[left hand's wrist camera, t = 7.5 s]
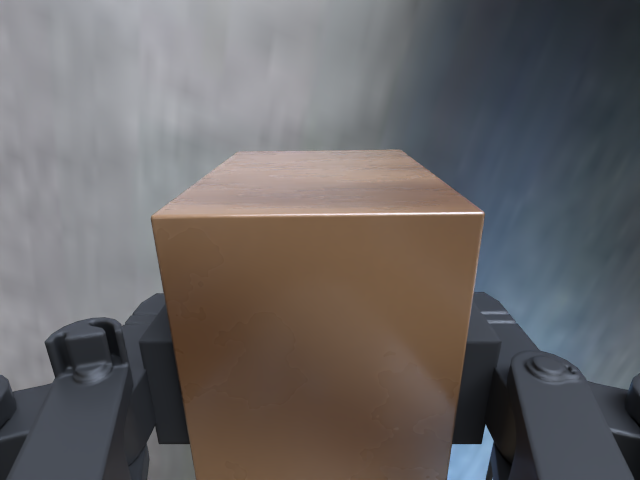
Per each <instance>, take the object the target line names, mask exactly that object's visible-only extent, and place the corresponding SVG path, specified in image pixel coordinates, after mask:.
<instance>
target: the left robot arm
mask: <svg viewBox="0 0 640 480" xmlns="http://www.w3.org/2000/svg"><path fill="white" fill-rule="evenodd" d="M45 345H46V349H47V352H48V355H49V359H50V362H51V365H52V368H53V372H54V375H55V379H54V381H53V383H51V384H47V385H43V386H38V387H33V388H29V389H24V390H19V391H14V392H12V389H11V386H10V384H9V381H8V379H7V378H5V377H4V376H3V375H0V480H147V475H148V467H149V453H148V447H147V441H148V439H149V437H150V435H151V433H152V431H153V428H154V426H155V427H156V432H157V437H158V442H159V444H190V441H189V435H188V429H187V424H186V418H185V412H184V406H183V401H182V395H181V389H180V383H179V378H178V372H177V366H176V360H175V355H174V349H173V343H172V337H171V332H170V326H169V320H168V315H167V309H166V303H165V297H164V293H156V294H155V295H153V296H152V297H150V298H148V299H147V300H145V301H144V302H142V303H141V304H140V305H139V307H138V308H137V309H136V310H135V311H134V313H133V316H130V317H129V319H128V320H127V321H126V322H125V325H123V326H121V324H120V323H119V322H118V321H117V320H115V319H110V318H106V317H103V318H90V319H85V320H81V321H77V322H75V323H72V324H69V325H67V326H64V327H62V328H61V329H59V330H58V331H56V332H54V333H53V334H52V335H51V336H50V337H49V338H48V339H47V340H46V341H45ZM485 424H486V426H487V428H488V430H489V432H490V434H491V436H492V438H493V440H494V443H493V447H492V452H491V457H490V461H489V466H488V471H487V475H486V480H492V478H493V480H640V373H639V374H638V375H636V376H635V377H634V378H633V379H632V382H631V385H630V388H629V390H625V389H620V388H615V387H611V386H606V385H601V384H596V383H592V382H588V381H587V380H586V378H585V377H584V375H583V374H582V373H581V372H580V370H579V369H578V368H577V367H575V366H574V365H573V364H571V363H570V362H569V361H567V360H565V359H563V358H561V357H559V356H556V355H554V354H551V353H547V352H543V351H540V350H539V349H538V348H537V346H536V345H535V344H534V343H533V342H532V340H531V339H530V338H529V337H528V336H527V334H526V333H525V332H524V331H523V330H522V328H521V327H520V326H519V325H518V324H517V323H515V320H514V319H513V318H512V316H511V315H510V314H508V312H507V310H506V309H505V308H504V307H503V306H502V304H501V303H500V302H499V301H497V300H496V299H494V298H493V297H491V296H489V295H488V294H486V293H485V292H474V293H473V300H472V307H471V314H470V321H469V328H468V335H467V342H466V349H465V356H464V363H463V370H462V377H461V384H460V391H459V398H458V405H457V412H456V419H455V426H454V433H453V440H452V444H482V439H483V434H484V429H485Z"/></svg>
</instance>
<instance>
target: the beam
mask: <svg viewBox="0 0 640 480" xmlns="http://www.w3.org/2000/svg"><path fill="white" fill-rule="evenodd" d="M484 217H485V214H484V211H482V210H481V209H480V208H478V207H477V206H475V205H474V204H473V203H471V202H470V201H469V200H467V199H466V198H465V197H463V196H462V195H461V194H459V193H458V192H457V191H455V190H454V189H453V188H451V187H450V186H449V185H447V184H446V183H445V182H443V181H442V180H441V179H439V178H438V177H437V176H435V175H434V174H433V173H431V172H430V171H428V170H427V169H426V168H424V167H423V166H422V165H420V164H419V163H418V162H416V161H415V160H414V159H412V158H411V157H410V156H408V155H407V154H406V153H404V152H403V151H402V150H338V151H257V152H237V153H235V154H234V155H233V156H231V157H230V158H228V159H227V160H226V161H224V162H223V163H222V164H220V165H219V166H218V167H216V168H215V169H214V170H212V171H211V172H210V173H208V174H207V175H206V176H204V177H203V178H202V179H200V180H199V181H198V182H196V183H195V184H193V185H192V186H191V187H189V188H188V189H187V190H185V191H184V192H183V193H181V194H180V195H179V196H177V197H176V198H175V199H173V200H172V201H171V202H169V203H168V204H167V205H165V206H164V207H162V208H161V209H160V210H158V211H157V212H156V213H154V214H153V215H152V216H151V223H152V228H153V234H154V240H155V246H156V251H157V257H158V263H159V269H160V274H161V280H162V286H163V292H164V297H165V303H166V309H167V315H168V320H169V326H170V332H171V337H172V343H173V349H174V355H175V360H176V366H177V372H178V378H179V383H180V389H181V395H182V401H183V406H184V412H185V418H186V424H187V429H188V435H189V441H190V447H191V452H192V458H193V464H194V470H195V475H196V480H447V474H448V467H449V460H450V454H451V447H452V440H453V433H454V426H455V419H456V412H457V405H458V398H459V391H460V384H461V377H462V370H463V363H464V356H465V349H466V342H467V335H468V328H469V321H470V314H471V307H472V300H473V293H474V286H475V279H476V272H477V265H478V258H479V252H480V245H481V238H482V231H483V224H484Z"/></svg>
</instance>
